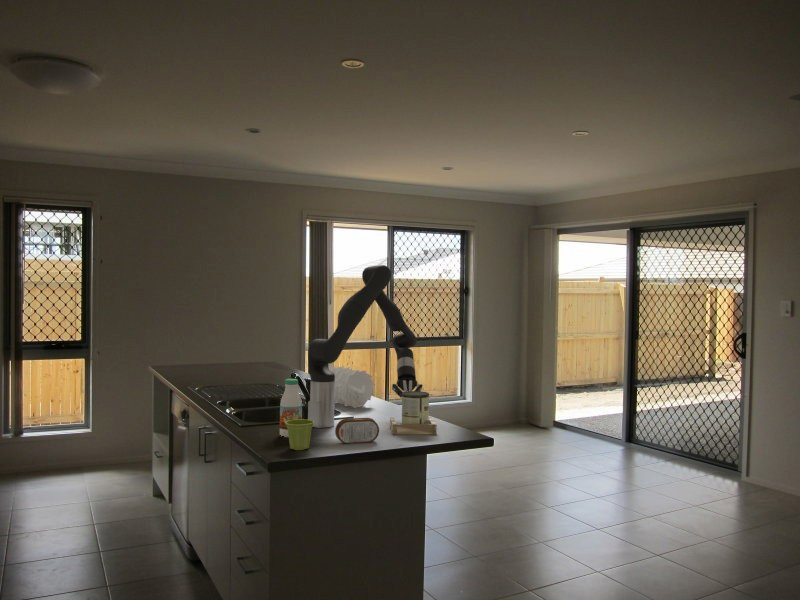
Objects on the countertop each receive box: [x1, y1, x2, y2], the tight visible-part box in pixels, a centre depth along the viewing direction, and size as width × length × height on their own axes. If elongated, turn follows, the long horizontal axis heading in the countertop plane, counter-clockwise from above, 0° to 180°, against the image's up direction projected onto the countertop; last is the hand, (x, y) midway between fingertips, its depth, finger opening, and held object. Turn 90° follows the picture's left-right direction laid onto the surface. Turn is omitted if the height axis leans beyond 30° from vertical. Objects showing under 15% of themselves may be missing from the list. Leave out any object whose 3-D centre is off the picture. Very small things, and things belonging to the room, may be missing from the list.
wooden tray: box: [389, 417, 437, 435], centre depth 243 cm, size 14×16×4 cm
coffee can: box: [401, 390, 430, 424], centre depth 243 cm, size 10×10×14 cm
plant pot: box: [285, 418, 314, 451], centre depth 211 cm, size 9×9×9 cm
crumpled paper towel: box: [329, 365, 375, 409], centre depth 298 cm, size 18×18×25 cm
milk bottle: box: [279, 378, 303, 438], centre depth 231 cm, size 8×8×20 cm
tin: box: [334, 417, 380, 445], centre depth 221 cm, size 15×3×8 cm, turn 109°
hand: (408, 404), depth 258 cm, fingers closed
